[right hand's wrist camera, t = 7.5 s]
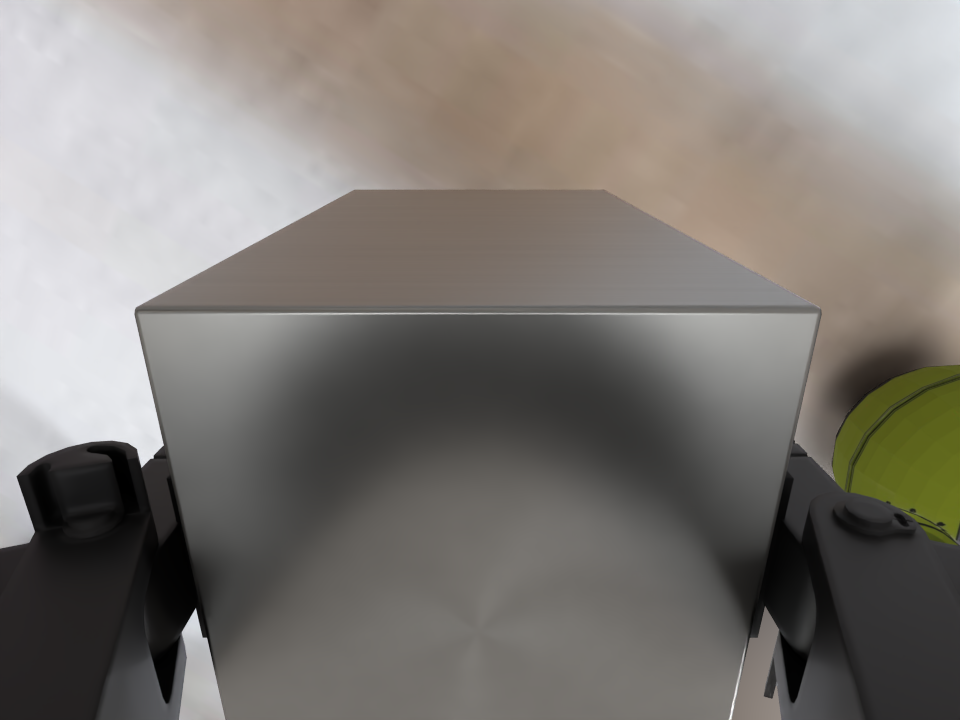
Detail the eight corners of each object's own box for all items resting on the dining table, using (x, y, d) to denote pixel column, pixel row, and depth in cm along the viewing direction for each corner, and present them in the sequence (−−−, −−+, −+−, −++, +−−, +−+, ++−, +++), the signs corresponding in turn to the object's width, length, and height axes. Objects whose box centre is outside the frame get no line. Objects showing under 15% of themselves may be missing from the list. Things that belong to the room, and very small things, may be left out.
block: (352, 189, 15) (130, 306, 6) (606, 189, 15) (826, 308, 6) (372, 458, 18) (250, 842, 9) (585, 458, 18) (706, 842, 9)
